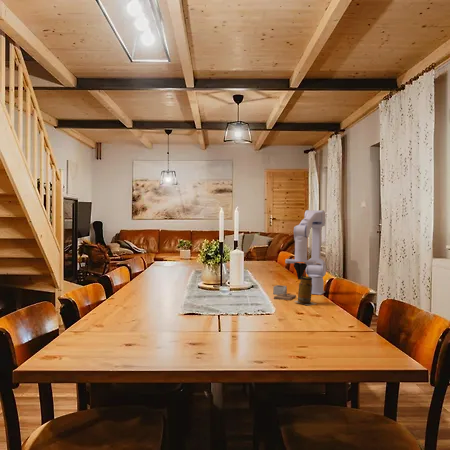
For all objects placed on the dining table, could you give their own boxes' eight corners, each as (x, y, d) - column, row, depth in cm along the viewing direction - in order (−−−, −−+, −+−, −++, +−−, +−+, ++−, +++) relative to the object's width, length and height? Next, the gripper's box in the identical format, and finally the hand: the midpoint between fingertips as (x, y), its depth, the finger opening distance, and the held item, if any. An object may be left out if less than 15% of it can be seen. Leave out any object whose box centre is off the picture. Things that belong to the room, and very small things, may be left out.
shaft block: (280, 295, 230) (280, 286, 230) (295, 297, 227) (295, 288, 227) (274, 298, 221) (274, 289, 221) (289, 300, 218) (289, 291, 218)
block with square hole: (276, 292, 239) (276, 285, 239) (286, 293, 237) (286, 285, 237) (273, 294, 235) (273, 286, 234) (283, 295, 232) (283, 287, 232)
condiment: (303, 299, 216) (305, 275, 215) (317, 304, 210) (319, 278, 209) (293, 301, 211) (295, 276, 210) (307, 306, 205) (309, 280, 204)
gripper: (283, 250, 213) (282, 279, 213) (313, 251, 206) (313, 281, 206) (288, 249, 219) (287, 277, 219) (317, 251, 213) (317, 279, 213)
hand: (300, 279), depth 213 cm, fingers closed
